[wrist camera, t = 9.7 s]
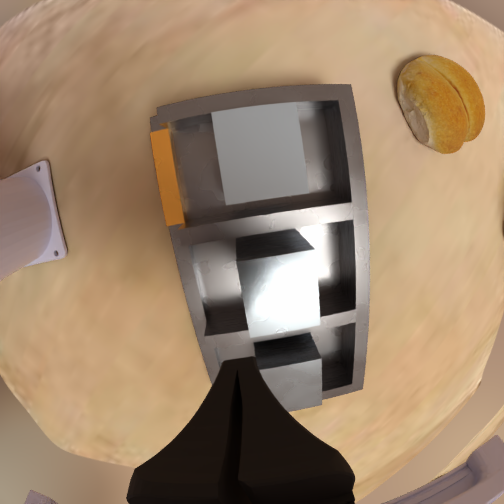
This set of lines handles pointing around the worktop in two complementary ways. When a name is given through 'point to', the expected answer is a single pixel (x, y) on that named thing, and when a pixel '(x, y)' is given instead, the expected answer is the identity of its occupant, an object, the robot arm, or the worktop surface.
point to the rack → (273, 246)
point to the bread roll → (440, 103)
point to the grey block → (260, 152)
